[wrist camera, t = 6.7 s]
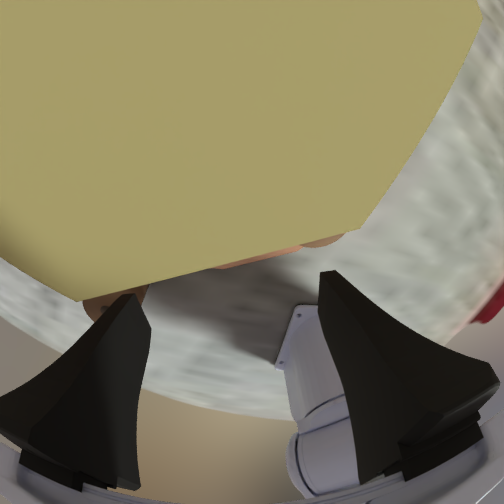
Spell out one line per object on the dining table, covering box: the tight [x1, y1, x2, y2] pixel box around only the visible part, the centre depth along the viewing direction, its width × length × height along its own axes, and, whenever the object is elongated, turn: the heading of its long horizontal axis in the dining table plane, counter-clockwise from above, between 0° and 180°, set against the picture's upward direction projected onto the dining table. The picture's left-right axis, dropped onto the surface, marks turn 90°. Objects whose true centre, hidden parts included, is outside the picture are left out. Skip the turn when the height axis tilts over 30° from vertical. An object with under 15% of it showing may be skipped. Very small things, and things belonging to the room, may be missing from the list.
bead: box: [83, 284, 149, 322], centre depth 18 cm, size 4×4×5 cm
